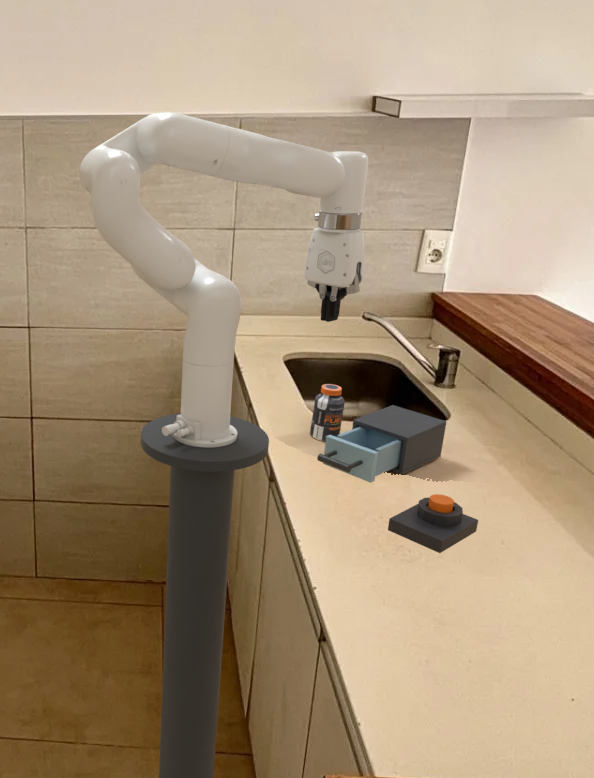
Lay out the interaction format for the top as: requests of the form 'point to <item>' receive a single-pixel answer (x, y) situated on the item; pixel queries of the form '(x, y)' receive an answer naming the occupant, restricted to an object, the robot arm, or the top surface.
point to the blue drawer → (362, 453)
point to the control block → (433, 526)
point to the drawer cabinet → (408, 434)
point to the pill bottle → (327, 412)
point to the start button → (441, 503)
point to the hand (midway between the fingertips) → (329, 319)
